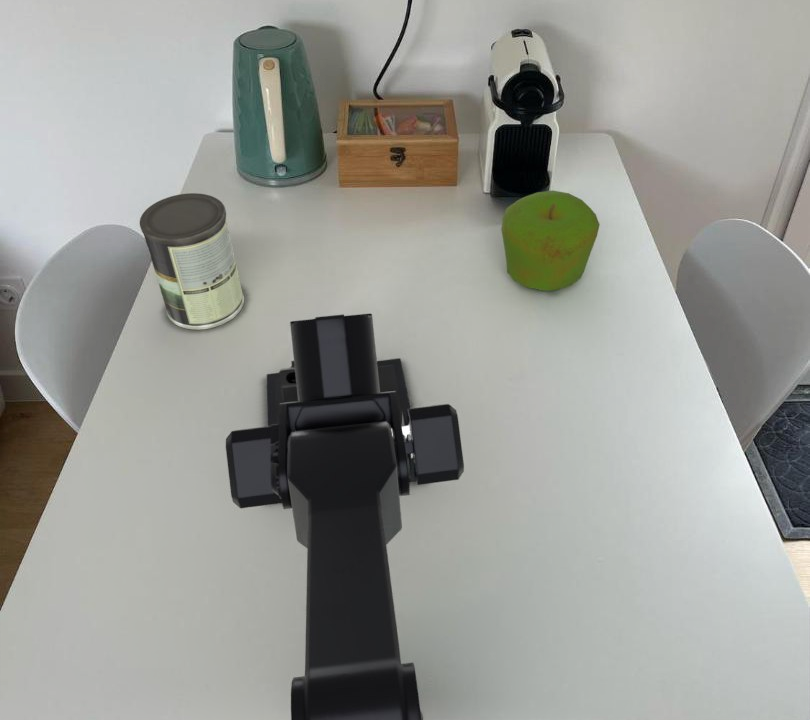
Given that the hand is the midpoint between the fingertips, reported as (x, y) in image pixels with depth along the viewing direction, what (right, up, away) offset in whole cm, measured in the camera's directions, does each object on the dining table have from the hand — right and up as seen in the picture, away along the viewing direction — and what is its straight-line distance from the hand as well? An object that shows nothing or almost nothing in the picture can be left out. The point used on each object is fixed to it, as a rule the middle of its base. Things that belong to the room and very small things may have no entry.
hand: (345, 449), depth 74 cm
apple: (+24, +19, +36) cm, 48 cm away
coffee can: (-21, +15, +34) cm, 43 cm away
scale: (-2, +1, +17) cm, 17 cm away
